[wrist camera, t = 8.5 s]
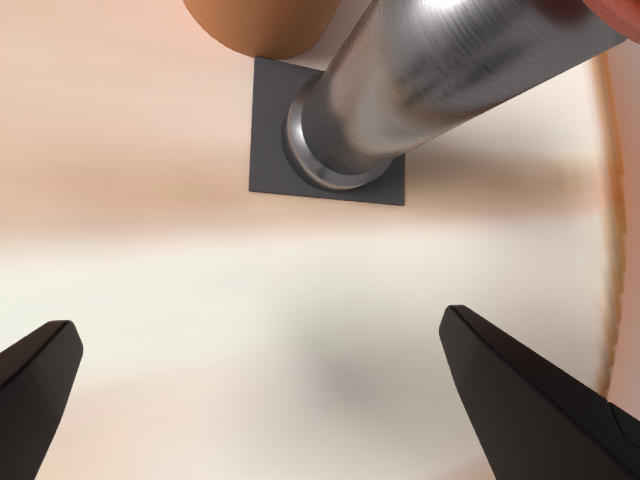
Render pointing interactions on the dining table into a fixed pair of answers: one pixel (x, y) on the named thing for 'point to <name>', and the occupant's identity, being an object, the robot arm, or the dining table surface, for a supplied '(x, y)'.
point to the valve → (435, 76)
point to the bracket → (264, 24)
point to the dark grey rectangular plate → (267, 151)
